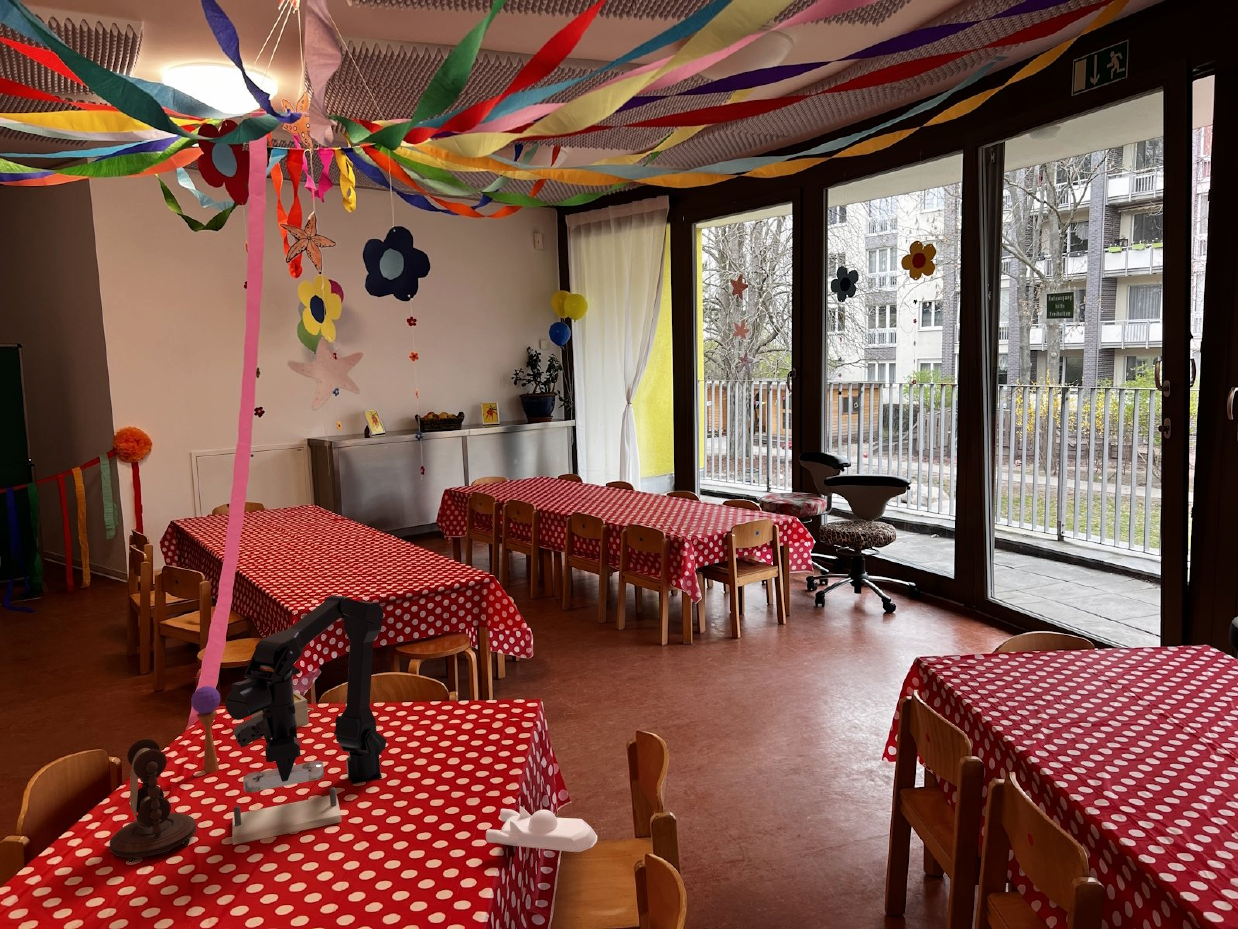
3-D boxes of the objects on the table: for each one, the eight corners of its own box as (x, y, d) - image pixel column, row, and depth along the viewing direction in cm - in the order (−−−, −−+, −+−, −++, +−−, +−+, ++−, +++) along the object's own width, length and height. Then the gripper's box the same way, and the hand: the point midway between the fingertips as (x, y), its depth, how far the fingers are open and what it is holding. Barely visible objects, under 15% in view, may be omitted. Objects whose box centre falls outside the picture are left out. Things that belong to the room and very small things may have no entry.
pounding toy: (331, 718, 236) (329, 688, 235) (270, 740, 222) (268, 708, 222) (293, 704, 247) (291, 675, 246) (233, 724, 233) (230, 694, 233)
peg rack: (336, 801, 188) (335, 778, 187) (341, 822, 179) (339, 798, 178) (233, 821, 180) (231, 798, 180) (232, 845, 171) (230, 820, 171)
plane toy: (590, 860, 162) (589, 829, 162) (485, 851, 166) (484, 821, 166) (602, 831, 172) (601, 802, 172) (504, 824, 176) (502, 795, 176)
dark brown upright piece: (105, 842, 174) (95, 743, 172) (187, 818, 183) (179, 723, 181) (117, 874, 162) (107, 768, 160) (204, 846, 171) (196, 746, 169)
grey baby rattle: (323, 770, 184) (322, 759, 183) (324, 778, 180) (323, 767, 180) (244, 786, 178) (243, 774, 178) (244, 794, 174) (243, 782, 174)
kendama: (201, 780, 200) (194, 693, 198) (194, 771, 205) (187, 687, 203) (229, 772, 204) (222, 687, 202) (221, 764, 208) (214, 680, 207)
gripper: (235, 693, 183) (241, 767, 184) (234, 725, 166) (240, 806, 167) (293, 684, 187) (298, 756, 189) (297, 715, 170) (303, 793, 171)
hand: (284, 777), depth 179 cm, fingers closed on grey baby rattle, 3 cm apart
